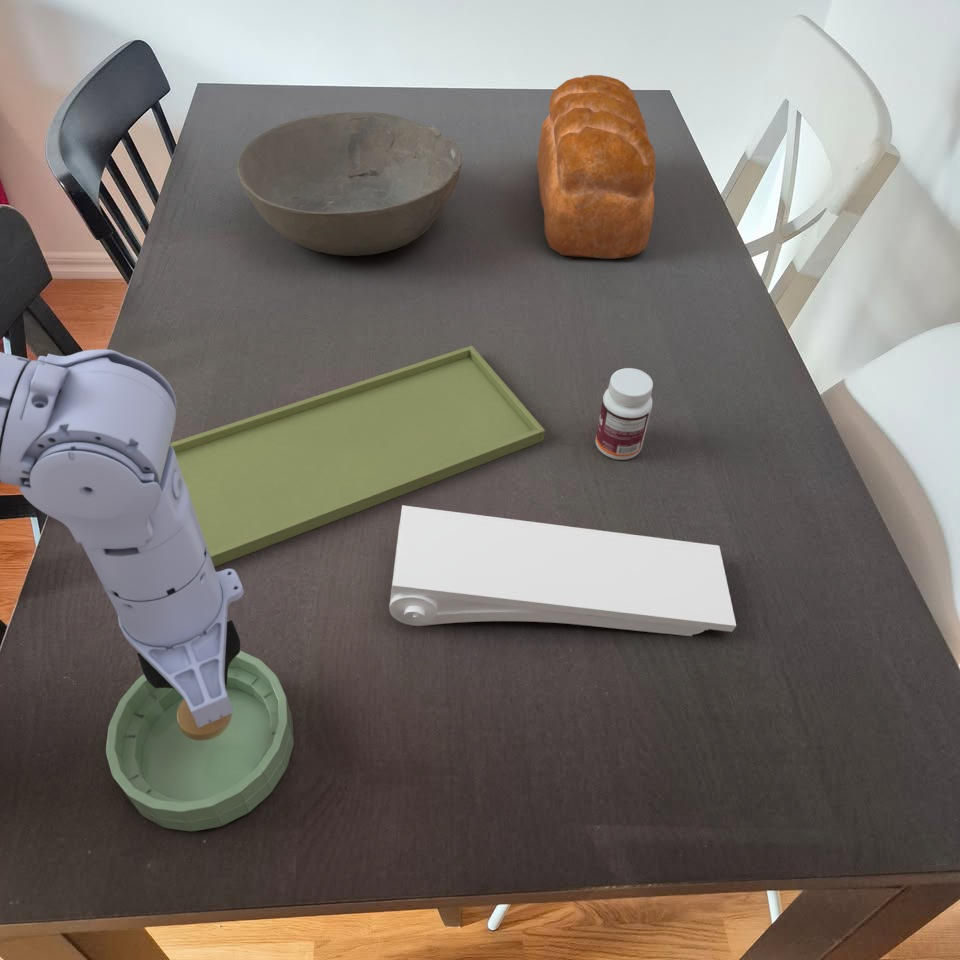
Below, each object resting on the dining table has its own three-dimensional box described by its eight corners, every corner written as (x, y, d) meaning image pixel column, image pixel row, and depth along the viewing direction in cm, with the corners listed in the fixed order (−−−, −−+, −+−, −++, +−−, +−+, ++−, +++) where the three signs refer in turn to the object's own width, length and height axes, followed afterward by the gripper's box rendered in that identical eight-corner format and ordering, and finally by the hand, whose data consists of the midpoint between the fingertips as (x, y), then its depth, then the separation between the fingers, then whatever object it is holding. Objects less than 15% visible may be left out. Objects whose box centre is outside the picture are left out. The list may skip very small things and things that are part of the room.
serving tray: (152, 591, 70) (147, 580, 69) (111, 474, 79) (106, 463, 78) (544, 440, 84) (545, 430, 83) (471, 355, 93) (472, 345, 92)
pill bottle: (604, 422, 86) (616, 359, 80) (648, 437, 85) (664, 374, 79) (587, 451, 83) (598, 387, 77) (632, 467, 82) (647, 404, 76)
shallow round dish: (147, 866, 56) (130, 845, 53) (105, 716, 63) (89, 690, 60) (319, 781, 60) (312, 757, 57) (262, 650, 67) (253, 622, 64)
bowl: (491, 260, 106) (495, 187, 99) (276, 303, 98) (263, 227, 91) (419, 162, 123) (417, 93, 116) (231, 192, 115) (216, 121, 108)
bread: (543, 261, 106) (556, 143, 95) (533, 162, 124) (542, 52, 113) (652, 263, 107) (677, 146, 95) (626, 164, 125) (644, 56, 113)
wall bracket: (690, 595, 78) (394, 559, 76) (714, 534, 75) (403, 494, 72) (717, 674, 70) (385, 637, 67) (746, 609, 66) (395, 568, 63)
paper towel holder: (184, 748, 57) (171, 674, 50) (172, 704, 59) (159, 628, 53) (237, 730, 58) (231, 656, 52) (224, 688, 60) (216, 612, 54)
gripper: (268, 629, 43) (301, 745, 53) (188, 450, 51) (229, 580, 61) (128, 688, 40) (190, 798, 50) (68, 490, 49) (131, 618, 59)
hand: (205, 682), depth 56 cm, fingers closed on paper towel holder
